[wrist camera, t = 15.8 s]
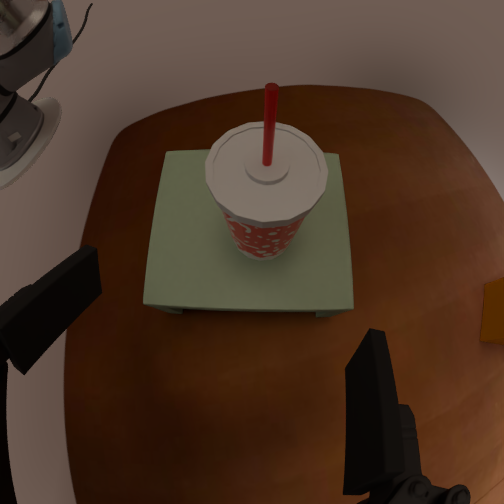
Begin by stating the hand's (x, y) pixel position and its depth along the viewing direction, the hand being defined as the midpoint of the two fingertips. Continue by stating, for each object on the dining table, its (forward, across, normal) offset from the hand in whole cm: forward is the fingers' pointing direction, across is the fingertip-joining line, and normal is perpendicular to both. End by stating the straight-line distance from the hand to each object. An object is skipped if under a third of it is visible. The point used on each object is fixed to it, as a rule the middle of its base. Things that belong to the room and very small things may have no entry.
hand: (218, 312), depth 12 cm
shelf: (+16, -1, -5) cm, 17 cm away
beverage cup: (+11, 0, -1) cm, 11 cm away
